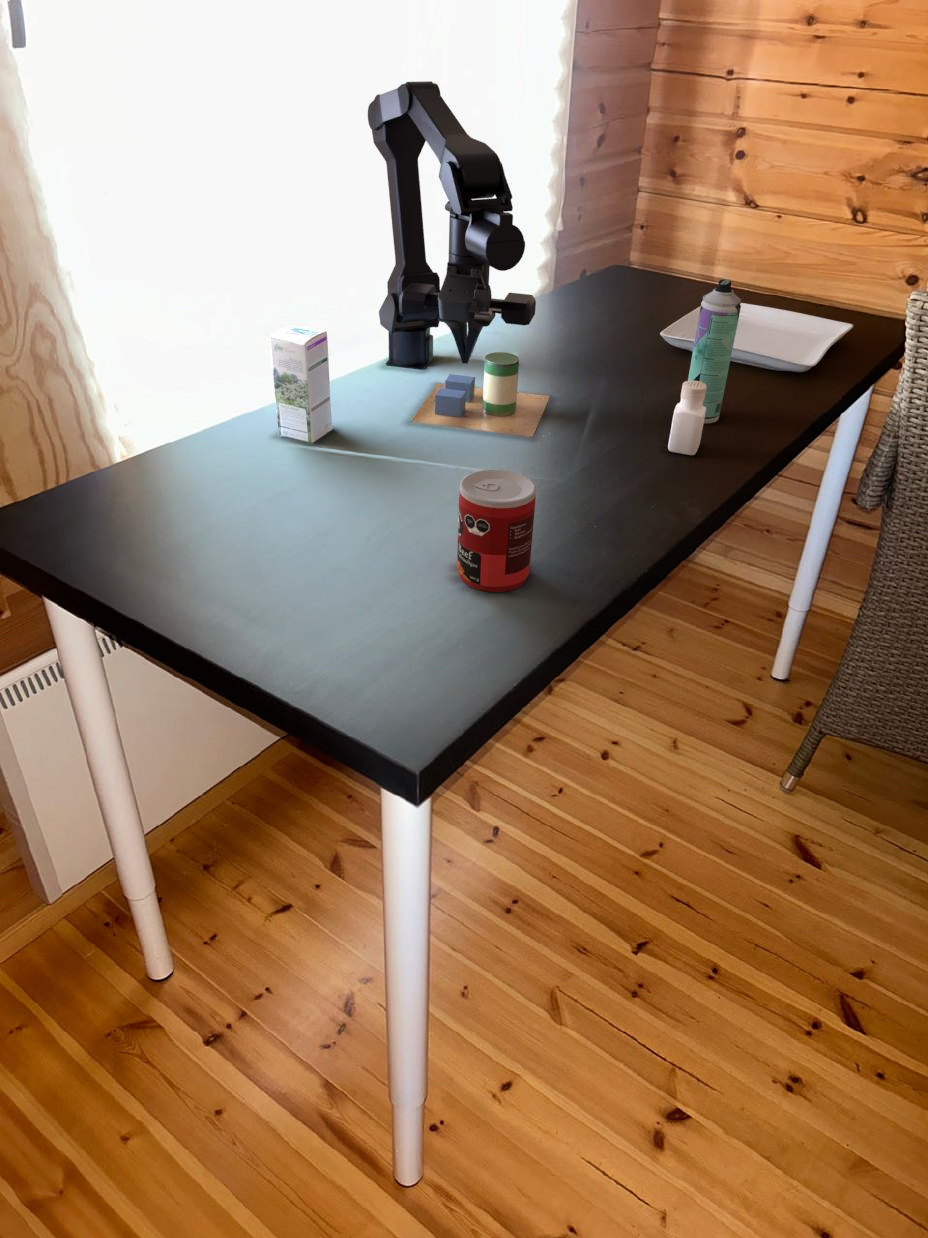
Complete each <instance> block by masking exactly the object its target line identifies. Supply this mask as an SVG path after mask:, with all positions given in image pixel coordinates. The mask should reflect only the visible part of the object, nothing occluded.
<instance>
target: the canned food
mask: <svg viewBox="0 0 928 1238" xmlns="http://www.w3.org/2000/svg"><path fill="white" fill-rule="evenodd" d="M536 488H537V486H536V484H535V483H534V481H533V480H532V479H530V478H529V477H527V476H526V475H523V474H521V473H518V472H515V471H510V470H504V469H485V470H479V471H475V472H472V473H469V474H467V475H465V476H464V477H463V478H462V479H461V481H460V484H459V489H458V491H459V492H458V513H457V548H456V549H457V551H456V553H457V554H456V569H457V573H458V576H459V578H460V580H461V582H463V583H464V584H465V585H467V586H469V587H470V588H473V589H474V590H479V591H482V592H488V593H503V592H509V591H513V590H516V589H518V588H519V587H521V586H523V585H524V583H526V581H527V578H528V576H529V574H530V566H531V555H532V544H533V535H534V522H535V513H536V512H535V510H536V497H537V490H536Z"/></svg>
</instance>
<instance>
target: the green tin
mask: <svg viewBox="0 0 928 1238" xmlns="http://www.w3.org/2000/svg"><path fill="white" fill-rule="evenodd" d="M519 369H520V357H519V356H518V355H517V354H514V353H510V352H504V351H496V352H490V353H488V354H485V356H484V367H483V385H482V388H483V407H482V410H483V412H484V413H486V414H488V415H491V416H497V417H505V416H510V415H513V414H514V413H515V412H516V400H517V392H518V385H519V384H518V383H519Z"/></svg>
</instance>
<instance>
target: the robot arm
mask: <svg viewBox="0 0 928 1238" xmlns="http://www.w3.org/2000/svg"><path fill="white" fill-rule="evenodd" d="M367 122H368V126H369V128H370V130H371V135H372V141H373V144H374V146H375V148H376V149H377V151H378V152H379V154H380V155H381V156H382V158H383V159H384V161H385V165H386V174H387V185H388V186H387V187H388V195H389V205H390V206H389V207H390V216H391V217H390V218H391V229H392V239H393V248H394V249H393V251H394V257H395V258H394V259H395V263H394V266H393V269H392V271H391V273H390V275H389V278H388V280H387V283H386V285H387V295H386V297H385V299H384V300H383V303H382V304H381V307H380V308H379V310H378V318H379V324H380V326H381V327H383V328H384V329H385V330H386V331H388V360H387V361H386V362H385V366H386V367H393V368H401V369H411V370H418V371H419V370H420V371H423V370H425V369H426V367H427V366H428V365H429V364H430V363H431V362H432V361H433V360H434V335H433V334H431V328H439V326H440V323H444V324H445V325H446V326H447V328H449V330H450V332H451V334H452V336H453V338H454V342H455V345H456V349H457V352H458V355H459V357H460V360H461V363H462V364H466V365H468V364H469V363H470V360H471V357H472V354H473V352H474V349H475V347H476V345H477V342H478V339H479V337H480V334H481V332H482V330H483V329H484V328H485V327H486V328H487V327H489V326H490V325H491V323H492V322H493V321H494V319H495V317H496V314H500V318H501V319H502V321H503V322H504V324H507V325H517V326H529V325H530V324H531V322H532V321H533V319H534V317H535V315H536V306H537V300H536V298H535V297H534V295H533V294H527V293H519V292H508V293H507V295H506V296H505V297H504V299H502V298H493V297H492V289H491V285H490V268H493V269H495V270H497V271H501V272H505V271H508V270H511V269H514V267H516V266H517V265H518V264H519V263H520V261H522V259H523V256H524V254H525V250H526V241H525V238H524V237H525V236H524V234H523V232H522V230H521V229H520V228H519V227H518V226H516V225H515V224H513V222H514V215H513V213H511V212H513V209H514V207H513V203H512V199H513V194H512V191H511V189H510V186H509V182H508V180H507V178H506V174H505V170H504V165H503V163H502V161H501V160H500V157H499V156H498V154H497V153H496V152H495V150H494V149H492V148H491V147H490V146H489V145H488V144H487V143H485V142H484V141H481V140H478V139H475V138H473V137H471V136H470V135H469V134H468V133H467V131H466V130H465V128H464V127H463V125H462V124H461V123H460V121H459V120H458V118H457V116H455V114H454V113H453V111H452V110H451V108H450V107H449V105H448V104H447V102H446V101H445V100H444V98H443V96H441V90H440V87H439V85H438V83H435V82H433V81H427V80H426V81H425V80H424V81H405V83H402V84H400V85H399V86H398V87H397V88H395V89H394V88H393V89H392V90H389V91H387V92H384V93H381V94H379V93H378V94H376V95H375V96H374V99H373V100H372V101H371V102H370V103H369V105H368V109H367ZM425 143H427V144H428V146H429V147H430V149H431V150H432V152H433V153H434V154H435V157H436V158H437V160H438V162H439V164H440V167H439V172H438V178H439V181H440V184H441V186H442V189H443V191H444V193H445V195H446V198H447V200H448V201H447V202H446V203H445V204H444V210H445V211H447V212H448V213H449V222H448V223H449V224H448V225H449V226H448V227H449V228H448V229H449V230H448V261H447V264H446V274H445V277H444V279H443V283H442V286H441V278H440V276H439V274H438V272H434V271H433V269H432V268H431V266H430V265H429V263H428V262H427V256H426V242H425V231H424V229H425V228H424V217H423V207H422V194H421V182H420V170H419V158H420V155H421V153H422V150H423V148H424V146H425Z"/></svg>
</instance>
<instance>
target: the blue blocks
mask: <svg viewBox="0 0 928 1238" xmlns="http://www.w3.org/2000/svg"><path fill="white" fill-rule="evenodd" d="M444 384H445V388H440V389H439V390H438V392H437V393H436V394H435V414H437V415H445V416H453V417H461V416H462V415H463V413H464V411H465V407H466V402H471V400H472V398H473V397H474V390H475V387H476V377H475V376H472V375H471V376H469V375H462V374H461V375H460V374H453V373H449V374H448V376H447V377H446V379H445V380H444Z"/></svg>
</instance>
